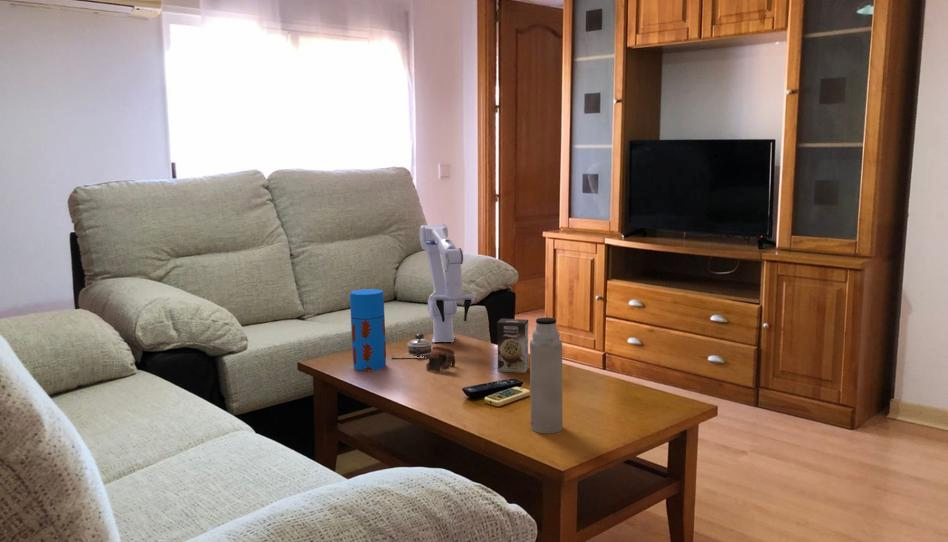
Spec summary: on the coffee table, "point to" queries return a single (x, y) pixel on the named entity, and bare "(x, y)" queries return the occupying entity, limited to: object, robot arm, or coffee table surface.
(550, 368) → the thermos bottle
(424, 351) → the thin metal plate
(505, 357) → the grey cardboard box
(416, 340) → the silver lid with knob
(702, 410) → the coffee table surface
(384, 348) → the thermos
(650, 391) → the coffee table surface
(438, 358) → the brown animal figurine
